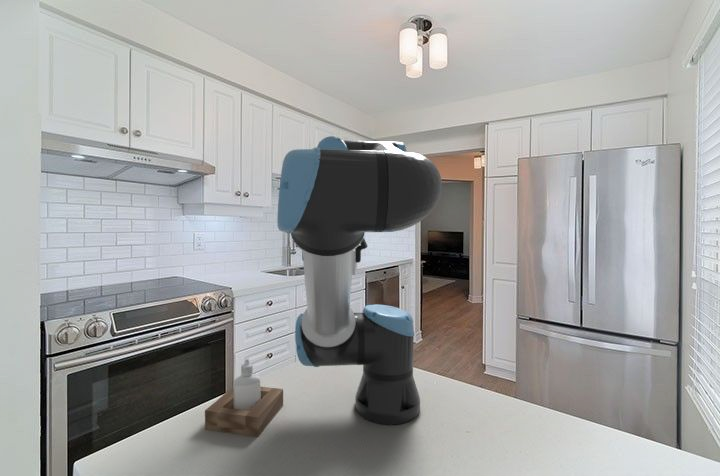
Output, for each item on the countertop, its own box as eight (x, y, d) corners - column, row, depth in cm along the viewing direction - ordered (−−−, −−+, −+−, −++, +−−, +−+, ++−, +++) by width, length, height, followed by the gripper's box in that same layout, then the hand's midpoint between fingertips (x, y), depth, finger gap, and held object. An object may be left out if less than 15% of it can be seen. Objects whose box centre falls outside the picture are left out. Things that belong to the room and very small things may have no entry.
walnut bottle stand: (283, 405, 81) (283, 389, 81) (258, 436, 69) (258, 417, 69) (236, 400, 83) (236, 383, 83) (205, 429, 72) (204, 410, 72)
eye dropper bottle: (254, 419, 74) (254, 364, 73) (230, 416, 75) (229, 362, 74) (263, 408, 78) (263, 356, 78) (240, 405, 79) (239, 354, 78)
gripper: (377, 198, 97) (377, 273, 98) (294, 198, 102) (294, 269, 103) (373, 196, 90) (372, 277, 91) (283, 196, 95) (284, 273, 96)
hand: (331, 273), depth 97 cm, fingers open, 13 cm apart
